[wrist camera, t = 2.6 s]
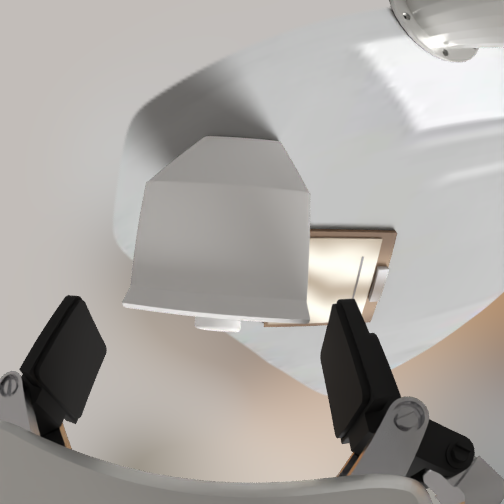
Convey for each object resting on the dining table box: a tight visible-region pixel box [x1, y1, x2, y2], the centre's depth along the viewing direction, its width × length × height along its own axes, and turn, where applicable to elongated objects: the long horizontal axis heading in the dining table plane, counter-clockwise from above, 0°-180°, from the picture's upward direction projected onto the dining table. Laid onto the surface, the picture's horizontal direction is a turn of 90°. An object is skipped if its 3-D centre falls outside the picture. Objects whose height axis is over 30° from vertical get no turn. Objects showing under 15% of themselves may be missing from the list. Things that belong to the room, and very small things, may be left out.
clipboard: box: [264, 229, 397, 327], centre depth 32 cm, size 14×15×1 cm
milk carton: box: [122, 136, 310, 332], centre depth 18 cm, size 7×7×19 cm
